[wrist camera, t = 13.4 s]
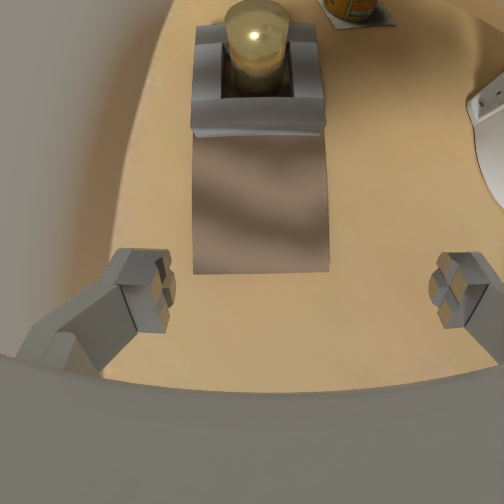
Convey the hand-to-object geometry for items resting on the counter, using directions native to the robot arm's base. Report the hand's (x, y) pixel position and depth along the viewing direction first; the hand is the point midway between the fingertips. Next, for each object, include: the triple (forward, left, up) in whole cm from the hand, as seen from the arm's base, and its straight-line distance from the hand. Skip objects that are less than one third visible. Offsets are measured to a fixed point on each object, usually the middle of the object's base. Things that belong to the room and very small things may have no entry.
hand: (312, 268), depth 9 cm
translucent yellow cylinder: (-11, -12, -19) cm, 25 cm away
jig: (-6, -8, -20) cm, 22 cm away
